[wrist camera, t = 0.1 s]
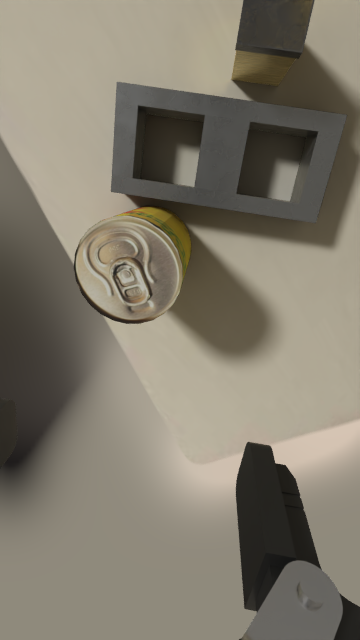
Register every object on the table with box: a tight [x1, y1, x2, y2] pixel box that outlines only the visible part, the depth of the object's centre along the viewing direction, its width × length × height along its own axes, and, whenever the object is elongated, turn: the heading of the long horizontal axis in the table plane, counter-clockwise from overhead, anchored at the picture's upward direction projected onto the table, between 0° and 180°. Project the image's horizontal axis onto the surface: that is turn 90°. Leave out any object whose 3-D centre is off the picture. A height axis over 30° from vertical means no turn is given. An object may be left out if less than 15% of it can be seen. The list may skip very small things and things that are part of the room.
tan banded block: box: [231, 0, 314, 86], centre depth 26 cm, size 5×5×9 cm
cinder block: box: [111, 82, 347, 223], centre depth 32 cm, size 9×20×4 cm, turn 82°
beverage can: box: [74, 206, 191, 324], centre depth 32 cm, size 9×9×12 cm
